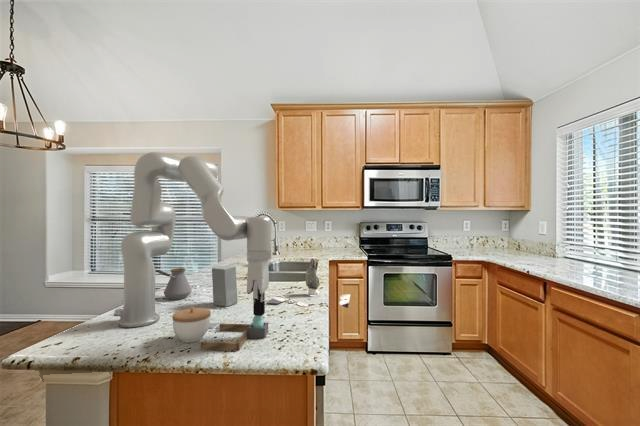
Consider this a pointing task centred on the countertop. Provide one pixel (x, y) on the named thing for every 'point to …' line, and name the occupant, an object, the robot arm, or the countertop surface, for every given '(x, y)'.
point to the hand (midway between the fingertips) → (259, 314)
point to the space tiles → (214, 325)
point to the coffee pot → (176, 285)
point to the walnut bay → (228, 345)
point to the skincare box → (224, 286)
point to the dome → (258, 321)
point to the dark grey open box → (257, 331)
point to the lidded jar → (191, 324)
